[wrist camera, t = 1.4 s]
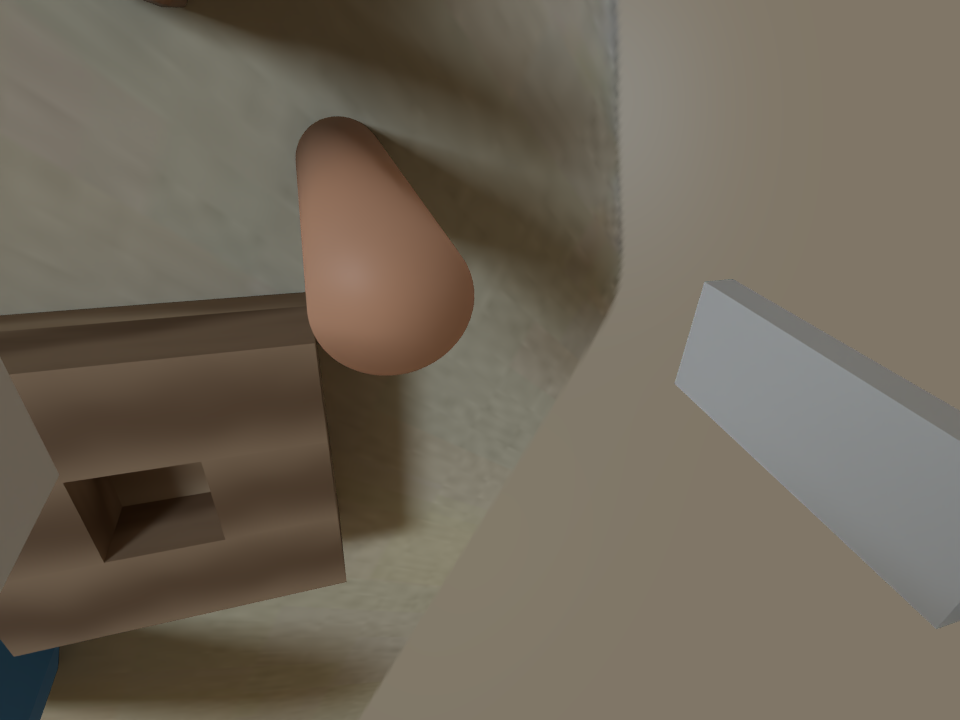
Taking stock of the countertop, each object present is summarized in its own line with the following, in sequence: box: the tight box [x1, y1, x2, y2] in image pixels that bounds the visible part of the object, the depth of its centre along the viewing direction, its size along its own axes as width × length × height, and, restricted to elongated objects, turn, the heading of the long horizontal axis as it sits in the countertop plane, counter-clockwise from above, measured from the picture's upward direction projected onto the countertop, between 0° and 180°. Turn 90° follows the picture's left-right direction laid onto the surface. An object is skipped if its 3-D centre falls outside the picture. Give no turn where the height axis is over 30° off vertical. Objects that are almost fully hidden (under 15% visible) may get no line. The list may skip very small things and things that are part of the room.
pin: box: [296, 116, 474, 376], centre depth 18 cm, size 4×4×14 cm
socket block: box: [0, 292, 346, 657], centre depth 26 cm, size 16×16×5 cm
